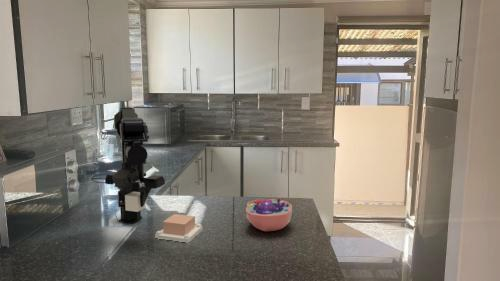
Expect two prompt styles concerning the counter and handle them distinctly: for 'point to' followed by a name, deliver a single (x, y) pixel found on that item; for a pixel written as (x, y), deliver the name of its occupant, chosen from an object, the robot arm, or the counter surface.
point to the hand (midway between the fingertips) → (135, 205)
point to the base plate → (180, 238)
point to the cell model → (269, 214)
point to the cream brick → (133, 202)
